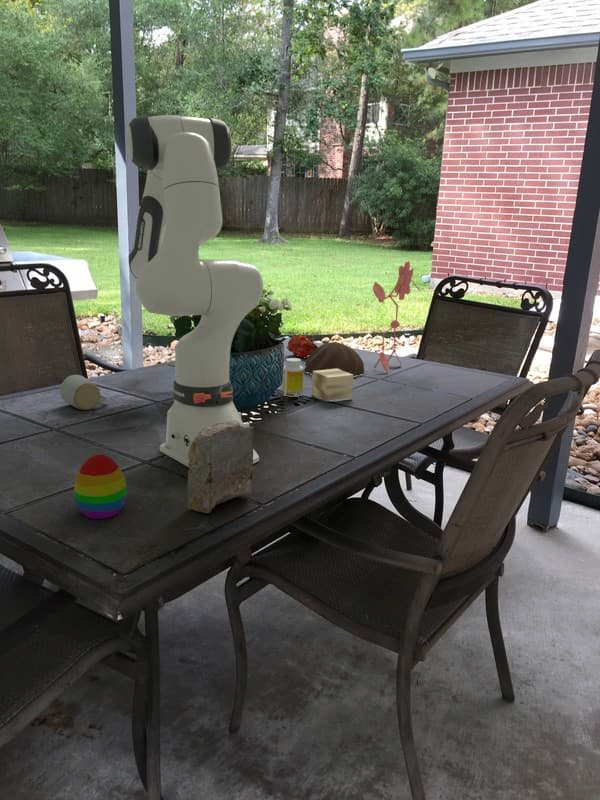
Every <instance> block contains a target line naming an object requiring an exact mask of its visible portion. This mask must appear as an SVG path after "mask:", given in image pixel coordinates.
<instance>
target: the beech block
mask: <svg viewBox="0 0 600 800" xmlns="http://www.w3.org/2000/svg"><path fill="white" fill-rule="evenodd" d="M311 380H312V381H311V382H312V383H311V385H312V386H311V395H312V394H313V395H315V396H317V397H319V398H322V399H324V400H327V401H329V400H335V399H343V398H352V399H353V392H354V391H353V389H354V378H353V374H350V373H348V372H345V371H342V370H340V369H328V370H318V371H313V377H312V379H311Z"/></svg>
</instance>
